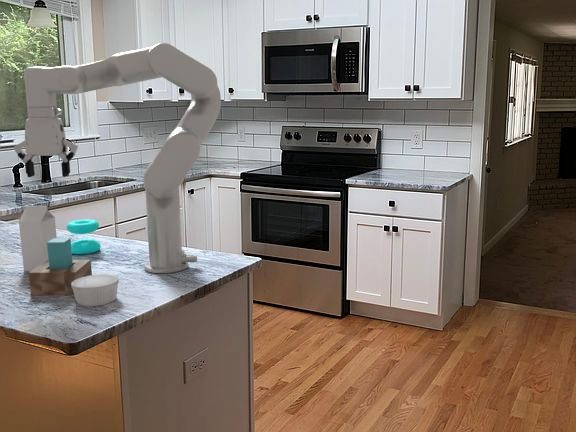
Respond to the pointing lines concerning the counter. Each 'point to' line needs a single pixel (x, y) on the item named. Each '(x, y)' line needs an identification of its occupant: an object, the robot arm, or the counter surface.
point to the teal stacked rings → (83, 228)
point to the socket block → (57, 278)
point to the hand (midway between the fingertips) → (48, 176)
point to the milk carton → (36, 235)
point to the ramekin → (95, 289)
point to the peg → (59, 253)
